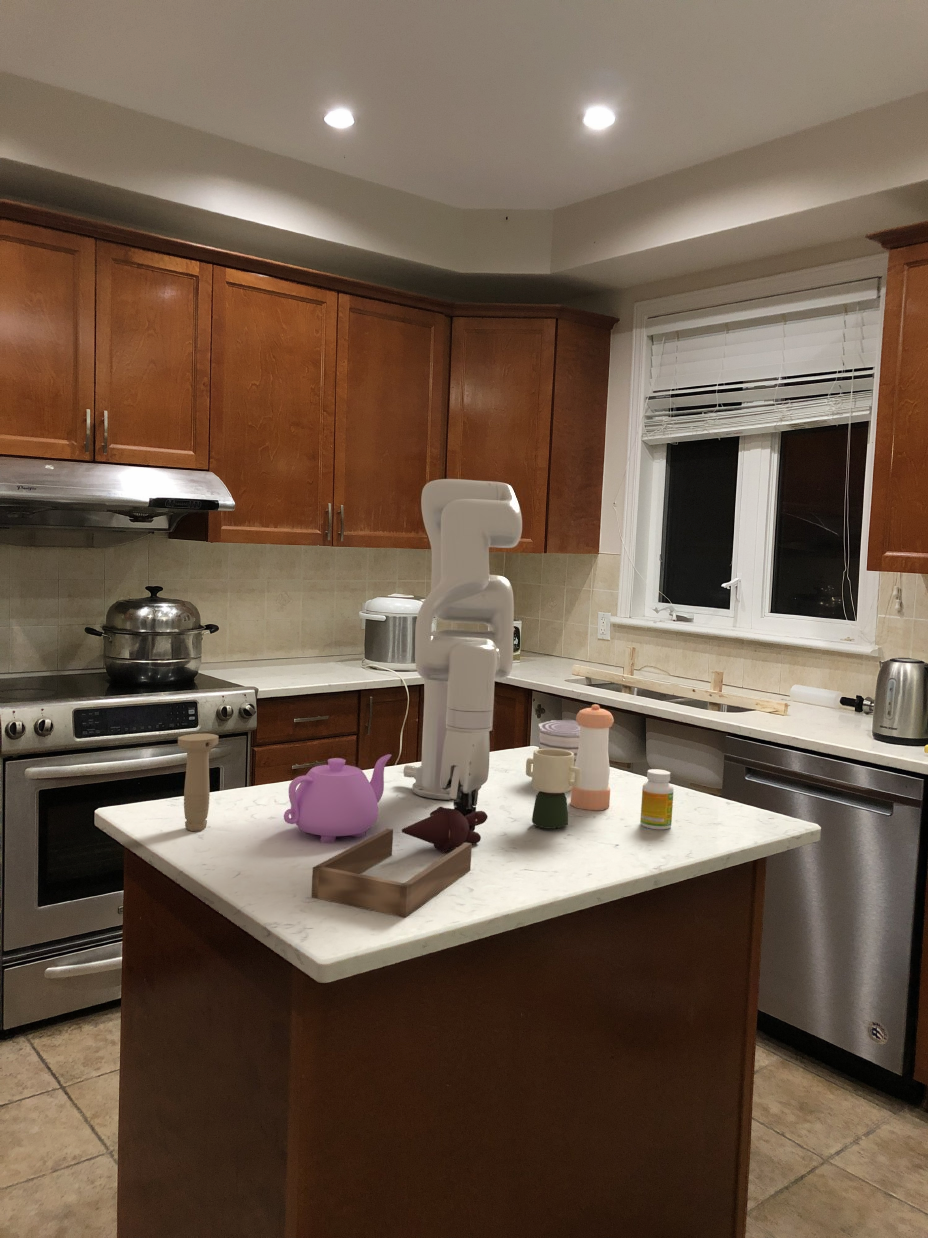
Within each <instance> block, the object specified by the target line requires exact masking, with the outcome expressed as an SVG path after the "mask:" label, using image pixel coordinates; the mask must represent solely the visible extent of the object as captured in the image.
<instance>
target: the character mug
mask: <svg viewBox="0 0 928 1238" xmlns="http://www.w3.org/2000/svg"><path fill="white" fill-rule="evenodd" d="M532 757H533V758H532ZM532 757H527V758H526V761H525V762H526V763H525V774H526V776H528V777H531V787H532V788H533V789H534V790H536V791H538V792H537V794H536V796H535V801H534V805H533V810H532V817H531V823H532V824H534V825H535V826H536V827H540V828H544V829H547V828H548V829H550V828H551V829H553V828H554V829H559V828H562V827H566V826H569V812H568V811H569V809H568V800H567V797H566V796H567V795H566V794H565V793H567V792H569V791H571V788H572V786H575V787H579V785H580V779H581V770H580V769H579V768H577V767H574V753H572V752H570V751H566V750H561V749H539V748H538V749H537V748H536V749H535V750H533V753H532ZM574 773H575V781H574Z"/></svg>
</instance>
